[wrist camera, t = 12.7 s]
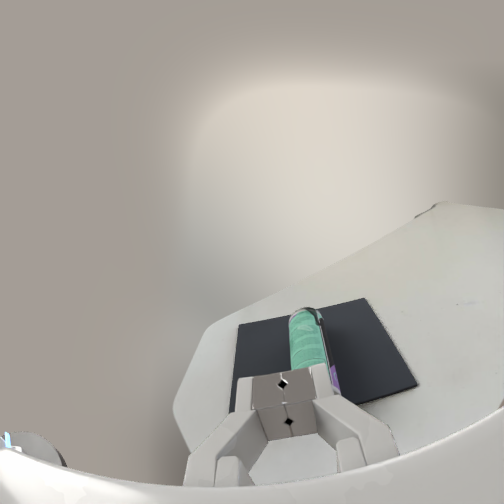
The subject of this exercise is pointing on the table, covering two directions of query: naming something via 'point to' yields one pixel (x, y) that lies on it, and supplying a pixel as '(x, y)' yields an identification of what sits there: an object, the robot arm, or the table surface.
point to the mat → (342, 348)
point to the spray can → (311, 343)
